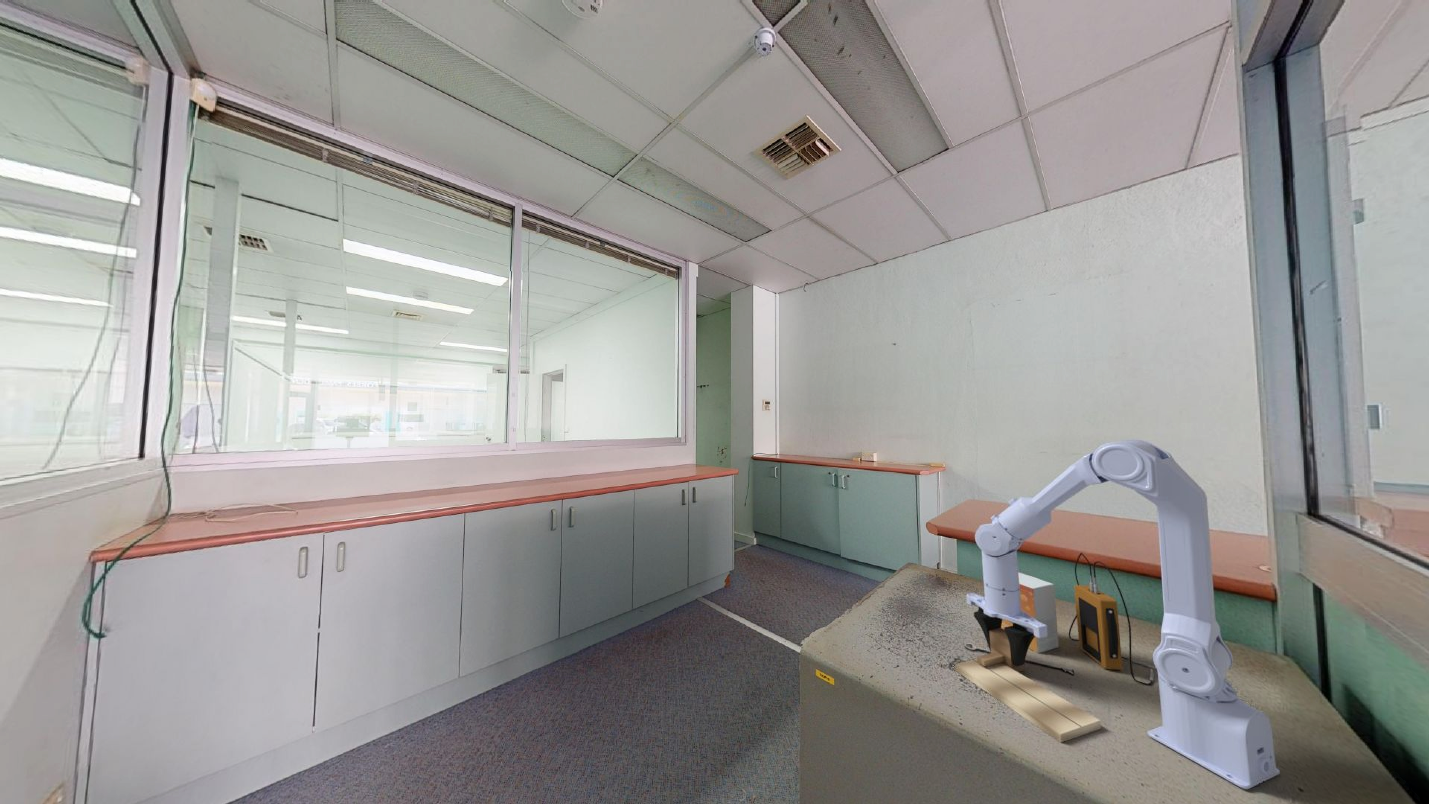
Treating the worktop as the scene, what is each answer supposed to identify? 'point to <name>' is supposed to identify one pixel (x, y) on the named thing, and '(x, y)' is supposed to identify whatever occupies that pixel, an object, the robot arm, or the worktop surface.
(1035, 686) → the board
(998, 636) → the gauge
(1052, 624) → the small box
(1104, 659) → the multimeter
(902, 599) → the worktop surface
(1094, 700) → the worktop surface
